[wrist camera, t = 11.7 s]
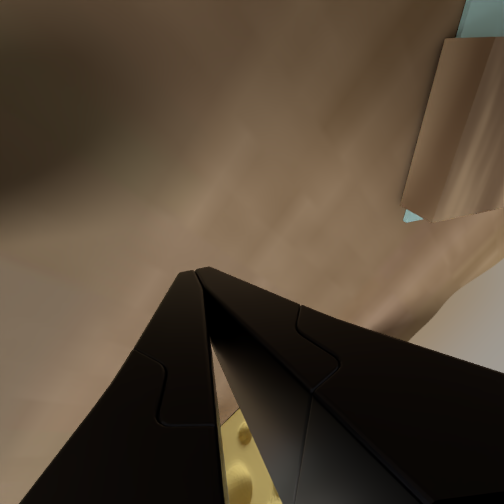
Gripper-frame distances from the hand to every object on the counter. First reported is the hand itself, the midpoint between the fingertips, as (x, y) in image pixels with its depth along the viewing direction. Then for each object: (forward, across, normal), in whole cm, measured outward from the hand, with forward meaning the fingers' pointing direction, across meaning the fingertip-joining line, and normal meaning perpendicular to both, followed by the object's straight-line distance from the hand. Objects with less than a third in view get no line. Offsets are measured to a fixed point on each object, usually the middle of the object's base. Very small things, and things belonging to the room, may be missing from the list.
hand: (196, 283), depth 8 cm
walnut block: (+11, +20, 0) cm, 22 cm away
